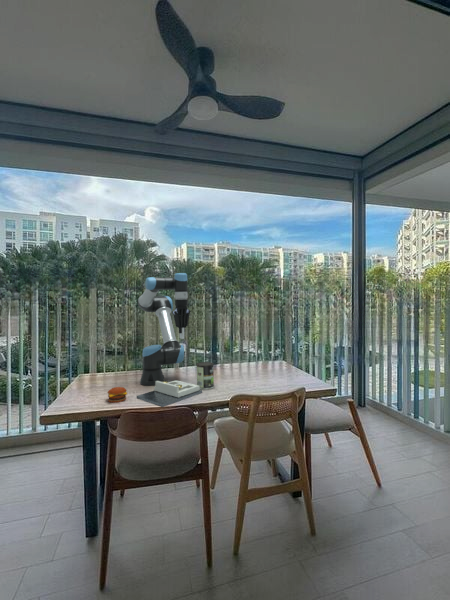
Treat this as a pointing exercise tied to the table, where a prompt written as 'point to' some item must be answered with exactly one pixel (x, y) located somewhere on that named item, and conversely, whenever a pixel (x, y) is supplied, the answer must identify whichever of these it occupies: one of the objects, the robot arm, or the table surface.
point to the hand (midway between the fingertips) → (182, 338)
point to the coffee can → (205, 375)
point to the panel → (175, 388)
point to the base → (164, 397)
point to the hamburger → (117, 394)
